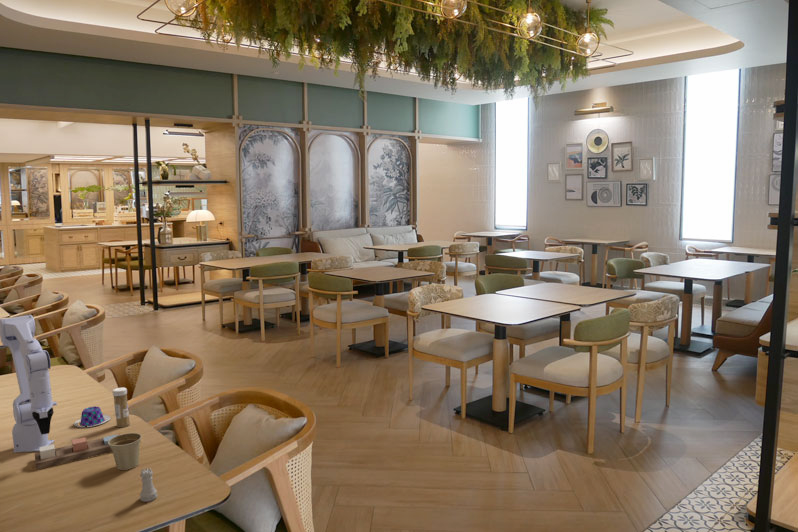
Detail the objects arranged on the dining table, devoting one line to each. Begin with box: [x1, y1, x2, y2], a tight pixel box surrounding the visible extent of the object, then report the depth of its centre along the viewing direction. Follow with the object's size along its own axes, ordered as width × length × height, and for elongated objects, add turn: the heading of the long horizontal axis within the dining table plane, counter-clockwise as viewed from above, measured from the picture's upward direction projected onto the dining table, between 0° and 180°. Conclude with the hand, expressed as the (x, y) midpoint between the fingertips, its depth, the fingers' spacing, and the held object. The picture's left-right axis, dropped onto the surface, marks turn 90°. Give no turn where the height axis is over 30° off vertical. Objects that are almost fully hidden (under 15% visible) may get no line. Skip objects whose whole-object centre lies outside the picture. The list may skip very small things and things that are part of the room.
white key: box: [39, 443, 56, 460], centre depth 193 cm, size 4×4×3 cm
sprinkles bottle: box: [112, 387, 131, 428], centre depth 220 cm, size 5×5×13 cm
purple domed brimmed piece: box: [73, 405, 111, 428], centre depth 226 cm, size 12×12×5 cm
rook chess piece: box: [139, 467, 158, 503], centre depth 167 cm, size 4×4×8 cm
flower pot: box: [108, 432, 143, 471], centre depth 188 cm, size 9×9×9 cm
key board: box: [34, 434, 121, 471], centre depth 198 cm, size 25×9×2 cm, turn 122°
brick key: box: [71, 436, 88, 452], centre depth 198 cm, size 4×4×3 cm
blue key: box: [102, 434, 118, 445], centre depth 202 cm, size 4×4×3 cm
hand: (45, 433), depth 192 cm, fingers closed
